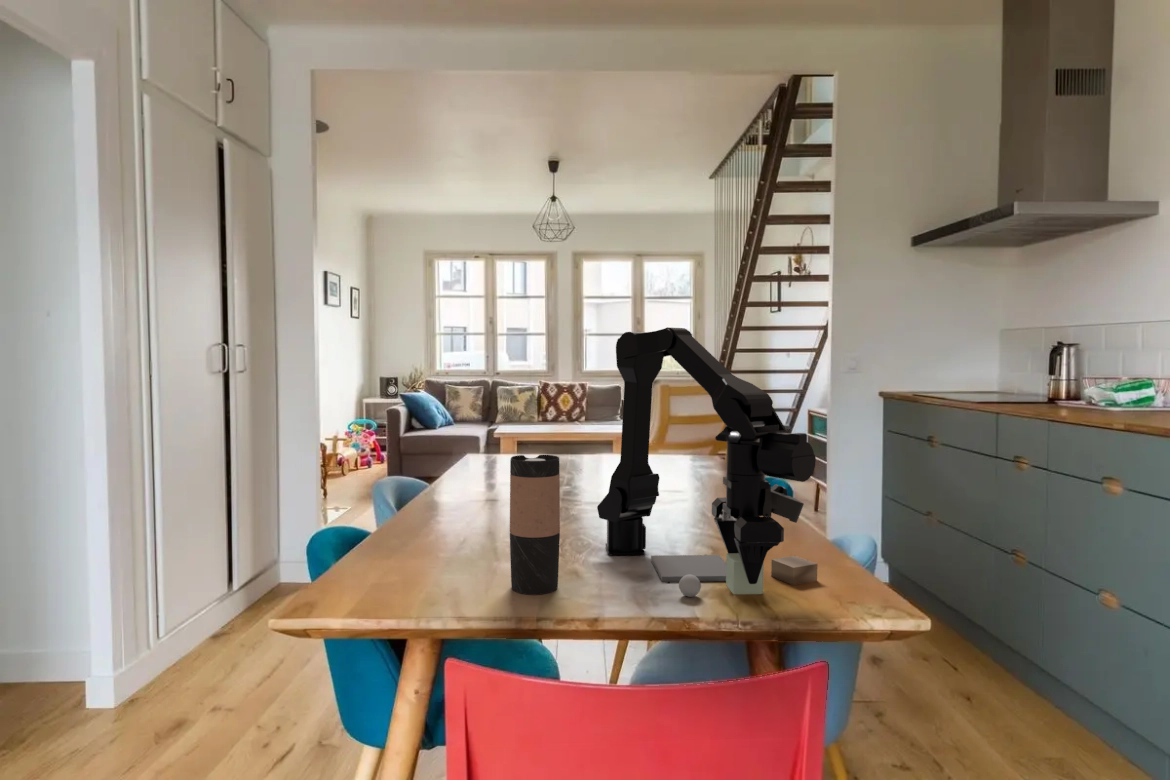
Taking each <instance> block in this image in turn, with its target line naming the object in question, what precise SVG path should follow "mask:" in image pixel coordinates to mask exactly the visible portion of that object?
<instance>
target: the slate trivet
mask: <svg viewBox="0 0 1170 780" xmlns="http://www.w3.org/2000/svg"><path fill="white" fill-rule="evenodd" d="M650 561H651V563H652V565H653V567H654V568H655V571H656V573H657V574H658V577H659V578H660V580H661V582H662V583H663V582H666V583H667V582H668V583H669V582H671V583H672V582H678V583H679V582H680V580H681V578H682V577H683V576H685V575H694V576H696V577H697V578H698V579H699V581H700V582H726V561H725V560H724V559H723V558H722V556H720V554H693V555H692V554H691V555H689V554H686V555H685V554H683V555H682V554H681V555H676V554H675V555H673V554H672V555H670V554H669V555H667V554H665V555H659V554H658V555H650Z"/></svg>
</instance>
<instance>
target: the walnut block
mask: <svg viewBox="0 0 1170 780" xmlns="http://www.w3.org/2000/svg"><path fill="white" fill-rule="evenodd" d="M770 574H771V577H772V578H774V579H776V580H779V581H782V582H784V583H786V584H789V585H792V586H797V585H800V584H801V585H802V584H808V583H812V582H817V581H818V563H816V562H813V561H811V560H809V559H805V558H803V557H800V556H797V555H792V556H791V555H790V556H784V557H778V558H772V559H771V572H770Z"/></svg>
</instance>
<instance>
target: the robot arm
mask: <svg viewBox="0 0 1170 780" xmlns="http://www.w3.org/2000/svg"><path fill="white" fill-rule="evenodd" d="M615 355H616V356H615V358H616V368H617V369H618V371H619V374H620V375H621V378H622V380H623V383H624V385H623V402H622V403H623V406H622V421H621V422H622V424H621V426H622V427H621V443H620V445H621V446H620V461H619V463H618V465H616V466H617V467H616V468H615V470H614V472H613V473H612V475H611V478H610V482H609V488H608V493H607V494H606V495H605V496H604V498H603V499H602V500H601V502H599V504H598V505H597V507H596V510H597V513H598V518H599V519H600V520H605V521H606V543H605V549H606V551H607V552H606V553H607V555H608V556H624V555H625V556H627V555H628V556H636V555H637V556H640V555H641V556H642V555H645V550H646V548H647V547H646V546H647V540H646V539H647V536H646V535H647V527H646V525H645V524H644V521H643V520H644V518H645V517H650V516H651V514H652V509H653V506H654V505H655V503H656V502H657V497H659V496H660V493H659V483H660V475H659V473H654V472H653V470H652V467H651V466H650V464H649V451H650V437H651V436H650V433H651V417H652V415H651V414H652V397H653V384H654V381H655V380H656V378H657V376H658V375H659V373H660V372H661V370H662V368H663V362H664V358H665V357H666V358H667V357H669V356H670V357H672V359H674V360H675V362H676V363H678V364H679V366H681V368H683V370H684V371H685V372H686V373H687V374H689V375H690V377H692V379H694V381H696V382H697V384H698V385H700V387H701V388H703V390H704V391H705V392H706V393H707V394H708V395H709V397H710V398H711V402H712V407H713V410H714V411H715V413H716V414H717V416H718V417H719V418H720V420H721V421H722V423H723V424H724V425H725V427H724V428H723V430H722V431H721V432H719V433H718V434H717V435H716V436H715V437H714V439H715V441H717V442H724V443H726V476H723V477H722V482H723V483H722V484H723V485H725V486H726V488H725V489H726V490H725V493H726V494H725V497H716V498H715V500H713V501H712V502H711V515H712V517H713V520H714V522H715V525H716V527H717V529H718V532H719V535H720V537H721V539H722V542H723V543H724V546H725V549H726V551H727V553H739V555H740V558H741V561H742V564H743V567H744V571H745V574H746V577H747V579H748V582H749V584H756V583H757V581H758V578H759V575H760V571H761V568H762V565H763V562H765V559H766V556H767V553H768V552H769V551H770V550H771V549H772V548H773V547H777V546H779V545H780V543H783V542H784V541H785V540H784V539H785V538H784V537H785V533H784V532H785V527H783V526H782V524H780V523H779V522H778V520H776V519H774V518H773V517H772V514H774V515H777V516H779V517H783V518H785V519H788V520H789V521H790V522H792V523H796V524H797V523H798V521H799V518H800V516H801V513H802V511H803V507H804V506H805V504H804V502H802V501H800V500H799V499H796V497H795V498H794V497H792V496H791V495H788V489H787V488H786V487H784V486H782V485H778V484H777V483H776V484H775V483H774V485H773V486H772V484H771V483H770V482H769V481H768V480H766V476H767V477H770V478H775V479H782V480H789V481H793V482H801V483H803V482H804V483H805V482H806V481H809V479H810V478H811V477H812V475H813V473H814V471H815V467H816V462H817V461H816V455H815V452H814V450H813V447H812V445H811V443H809V442H808V434H807V433H804V432H795V433H794V432H793V433H789V432H788V431H787V429H786V427H785V425H784V423H783V422H782V420H781V419H780V417H779V416H778V414H777V412H776V410H775V408H774V407H773V404H774V403H773V402H774V400H773V399H772V397H771V396H770V395H769V393H767V392H766V391H764V390H763V389H761V388H760V387H758V386H756V385H755V384H753V383H751V382H749V381H747V380H745V379H741V378H739V377H737V376H736V375H734V374H733V373H732V372H731V371H729V369H727V368H726V367H725V366H724V365H723V364H722V363H721V362H720V360H718V359H717V358H716V357H715V356H714V355H713V354H712V353H710V352H709V351H708V349H706V347H704V346H703V345H702V344H701V343H700V342H699V341H698V340H697V339H696V338H694V337H693V334H692V332H691V331H690V330H688V329H687V328H683V327H665V328H661V329H658V330H654V331H653V330H652V331H647V332H645V331H643V332H641V331H626V332H624V333H622V334H621V335H620V337H619V338H617V339H616V343H615Z"/></svg>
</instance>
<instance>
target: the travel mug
mask: <svg viewBox="0 0 1170 780" xmlns="http://www.w3.org/2000/svg"><path fill="white" fill-rule="evenodd" d="M509 466H510V467H509V468H510V473H509V474H510V475H509V476H510V477H509V480H510V482H509V551H510V553H509V554H510V559H509V560H510V582H511V589H512V591H514V592H516V593H518V594H521V595H535V596H536V595H537V596H538V595H545V594H549V593H552V592H555V591H556V590H557V589H558V585H559V565H560V542H561V540H560V539H561V538H560V536H561V533H560V532H561V525H560V524H561V512H560V510H561V509H560V503H561V502H560V501H561V497H560V496H561V495H560V491H561V490H560V487H561V485H560V481H561V480H560V475H561V474H560V472H561V471H560V456H557V455H553V454H538V456H537V457H526V456H525V455H523V454H519V455H518V454H517V455H513V456H511V457H510V465H509Z"/></svg>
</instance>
